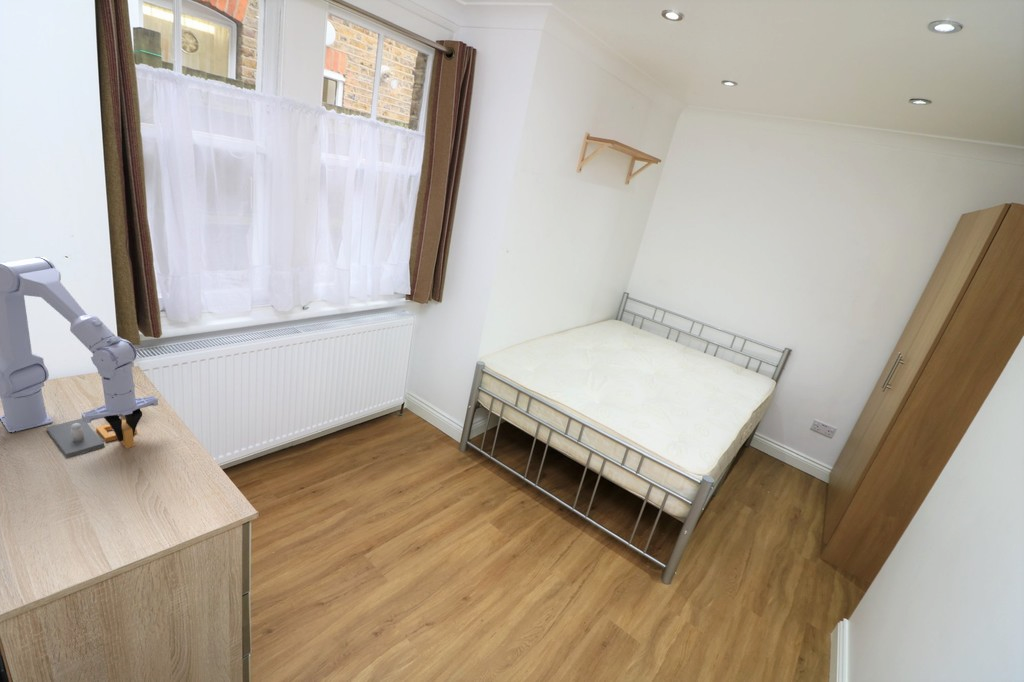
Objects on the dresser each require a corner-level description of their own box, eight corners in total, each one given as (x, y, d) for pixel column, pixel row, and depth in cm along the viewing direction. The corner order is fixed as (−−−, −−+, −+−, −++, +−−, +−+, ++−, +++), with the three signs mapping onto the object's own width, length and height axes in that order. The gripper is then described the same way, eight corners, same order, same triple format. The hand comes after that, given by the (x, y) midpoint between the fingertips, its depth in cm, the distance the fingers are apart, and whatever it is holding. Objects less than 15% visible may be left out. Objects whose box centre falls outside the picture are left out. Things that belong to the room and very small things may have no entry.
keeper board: (46, 430, 117) (43, 411, 116) (83, 421, 123) (80, 403, 121) (66, 457, 110) (63, 437, 108) (104, 446, 116) (101, 427, 114)
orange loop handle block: (96, 431, 120) (93, 414, 119) (127, 423, 125) (125, 406, 124) (114, 452, 114) (112, 434, 113) (145, 442, 119) (143, 425, 118)
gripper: (86, 405, 105) (94, 455, 110) (161, 387, 117) (165, 434, 122) (75, 393, 109) (83, 442, 113) (149, 377, 120) (154, 423, 125)
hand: (125, 437), depth 118 cm, fingers closed on orange loop handle block
